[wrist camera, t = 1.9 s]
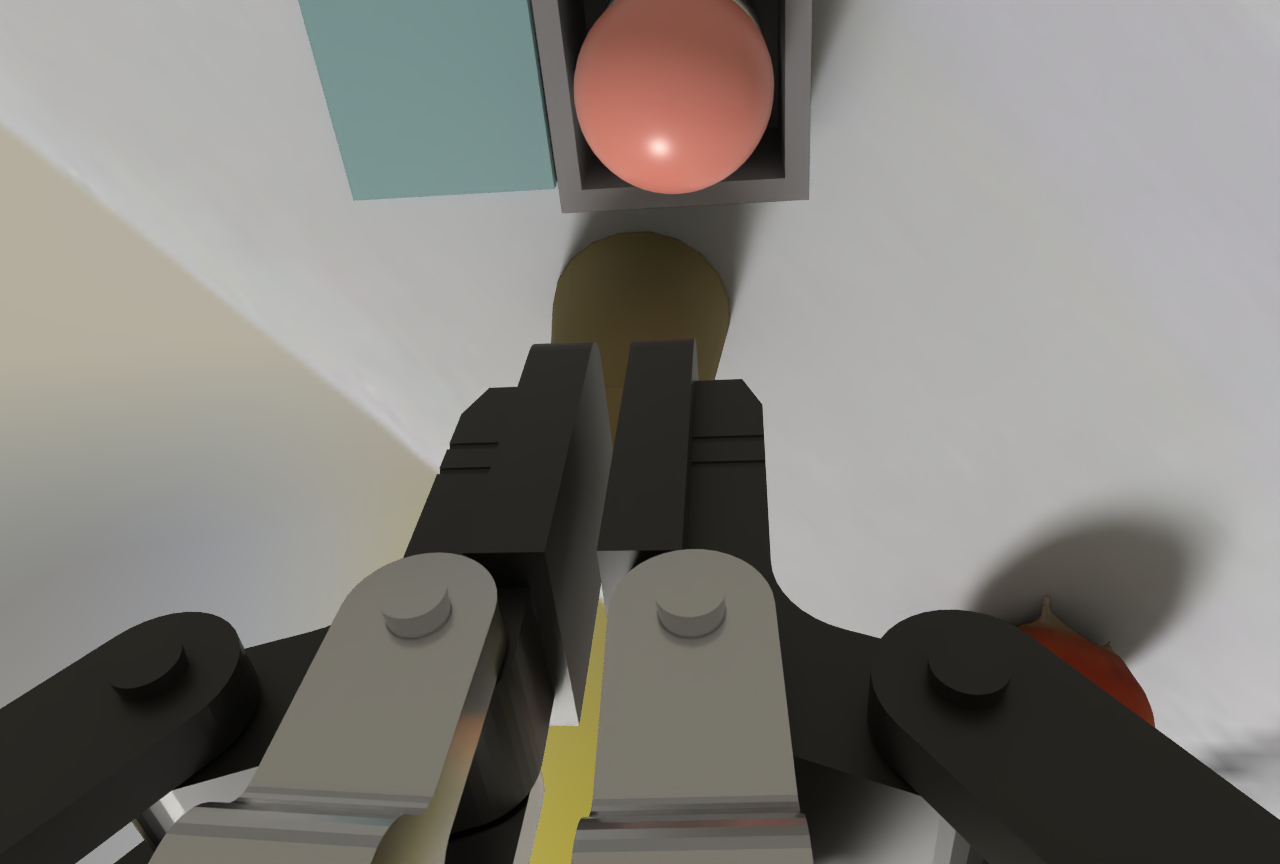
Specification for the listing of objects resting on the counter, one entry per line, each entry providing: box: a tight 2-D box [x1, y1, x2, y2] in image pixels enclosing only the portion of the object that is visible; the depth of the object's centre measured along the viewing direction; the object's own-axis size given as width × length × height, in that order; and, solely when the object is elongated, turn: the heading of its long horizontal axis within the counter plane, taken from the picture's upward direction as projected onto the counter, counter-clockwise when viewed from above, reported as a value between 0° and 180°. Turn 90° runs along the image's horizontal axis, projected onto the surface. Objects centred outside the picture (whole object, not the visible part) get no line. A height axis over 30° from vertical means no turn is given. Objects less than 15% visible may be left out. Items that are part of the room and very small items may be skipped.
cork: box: [551, 232, 729, 448], centre depth 27 cm, size 6×6×11 cm
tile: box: [298, 0, 556, 200], centre depth 28 cm, size 6×6×1 cm
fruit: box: [1017, 595, 1155, 728], centre depth 38 cm, size 8×8×8 cm
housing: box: [531, 0, 812, 213], centre depth 24 cm, size 6×6×5 cm
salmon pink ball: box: [574, 0, 774, 194], centre depth 22 cm, size 5×5×5 cm
